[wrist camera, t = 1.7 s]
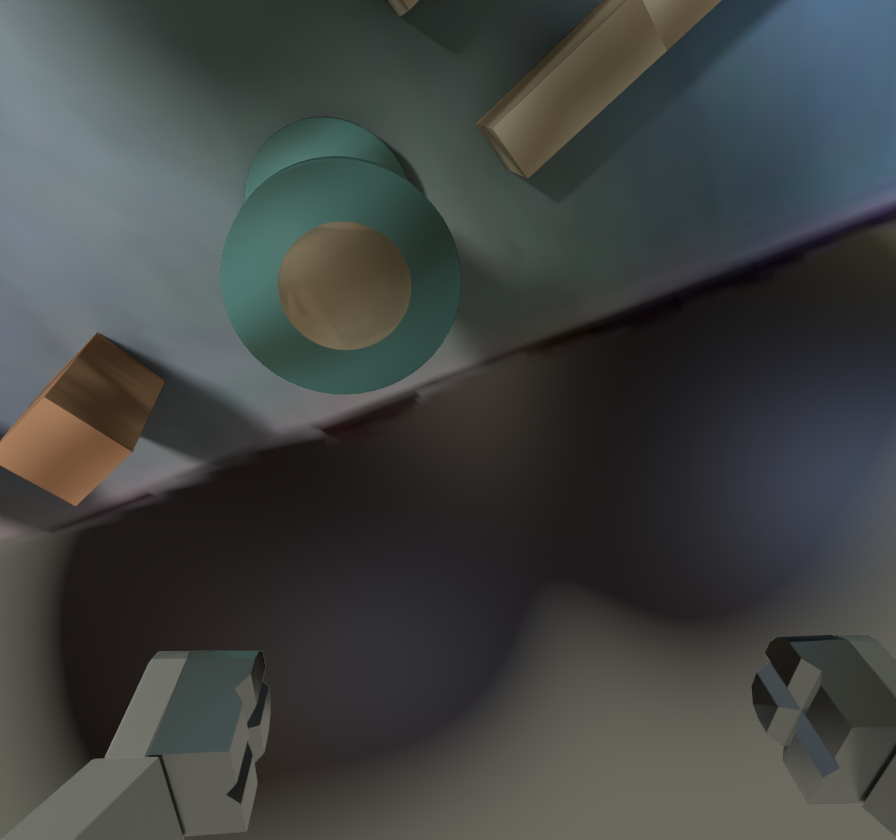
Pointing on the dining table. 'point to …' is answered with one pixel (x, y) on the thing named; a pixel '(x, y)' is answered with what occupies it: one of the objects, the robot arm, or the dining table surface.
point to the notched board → (581, 75)
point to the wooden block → (82, 422)
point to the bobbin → (338, 262)
